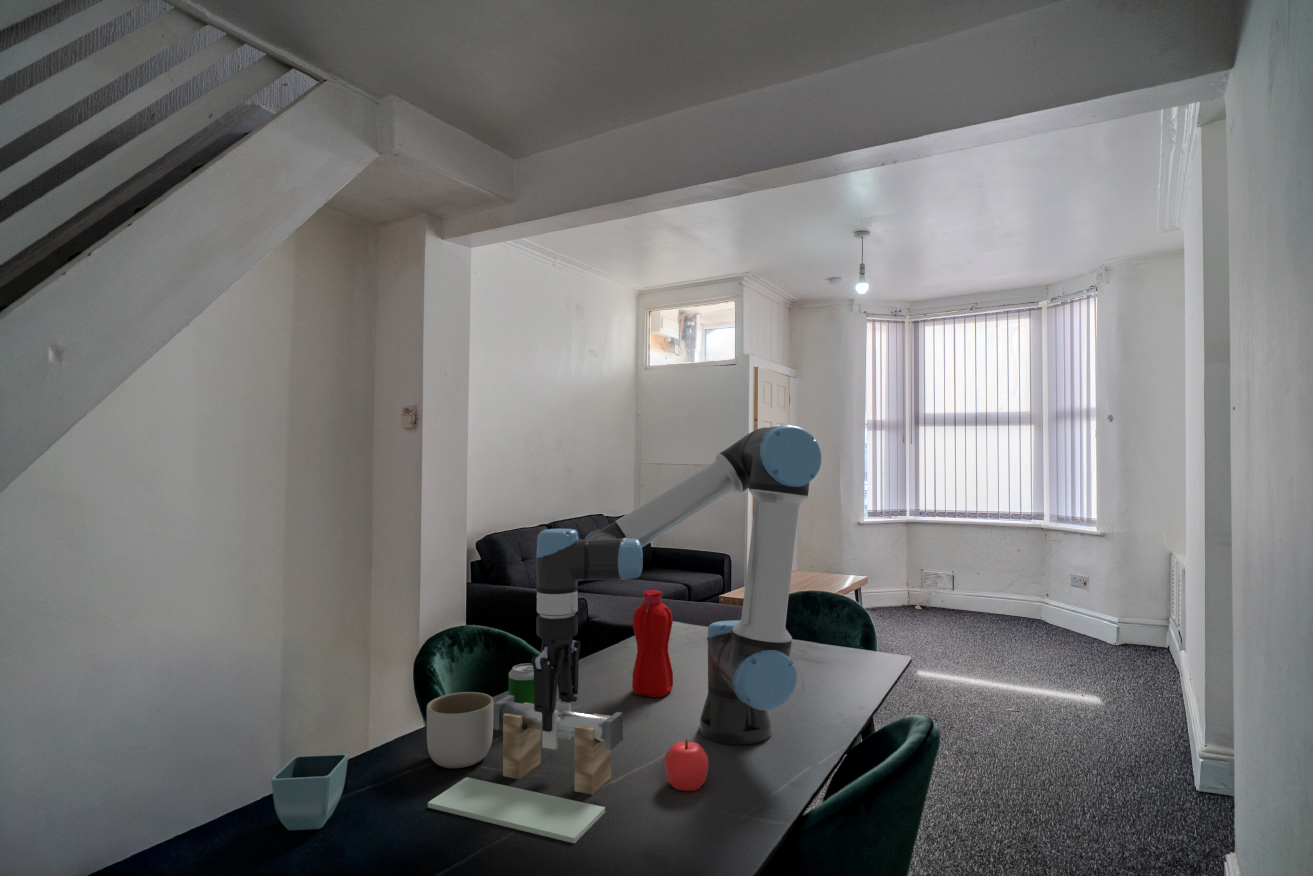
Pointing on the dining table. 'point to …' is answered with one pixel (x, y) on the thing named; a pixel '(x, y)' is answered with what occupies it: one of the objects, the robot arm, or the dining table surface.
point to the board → (519, 809)
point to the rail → (563, 721)
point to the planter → (459, 728)
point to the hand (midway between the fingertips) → (556, 742)
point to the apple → (686, 766)
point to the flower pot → (309, 790)
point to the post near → (590, 760)
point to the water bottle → (652, 647)
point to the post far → (519, 747)
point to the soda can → (522, 683)
